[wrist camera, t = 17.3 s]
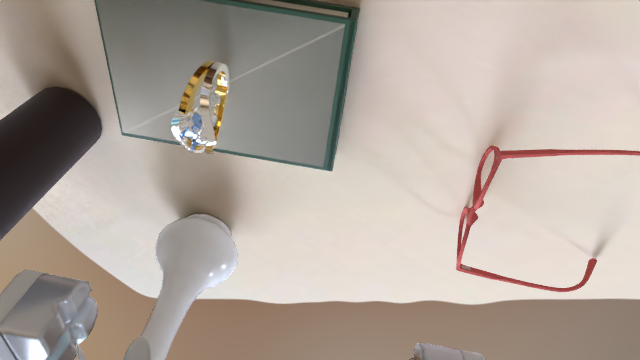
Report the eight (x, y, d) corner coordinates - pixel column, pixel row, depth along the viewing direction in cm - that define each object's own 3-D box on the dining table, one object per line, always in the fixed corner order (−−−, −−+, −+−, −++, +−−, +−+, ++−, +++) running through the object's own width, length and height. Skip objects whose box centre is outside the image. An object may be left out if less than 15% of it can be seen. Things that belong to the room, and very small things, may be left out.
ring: (209, 41, 34) (168, 86, 28) (249, 52, 34) (217, 100, 28) (202, 115, 38) (166, 169, 32) (238, 125, 39) (208, 181, 32)
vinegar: (116, 137, 45) (-30, 296, 30) (65, 149, 47) (-97, 304, 32) (76, 78, 41) (-116, 224, 26) (22, 93, 43) (-186, 238, 28)
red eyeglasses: (487, 110, 38) (498, 142, 34) (680, 132, 37) (714, 168, 33) (441, 247, 49) (445, 283, 45) (590, 267, 48) (607, 305, 44)
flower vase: (111, 199, 51) (-64, 423, 32) (259, 186, 47) (162, 436, 27) (158, 272, 59) (41, 490, 39) (289, 267, 54) (231, 508, 35)
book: (360, 8, 34) (357, 20, 32) (335, 153, 43) (332, 171, 40) (109, -32, 35) (89, -23, 32) (136, 119, 43) (121, 135, 41)
